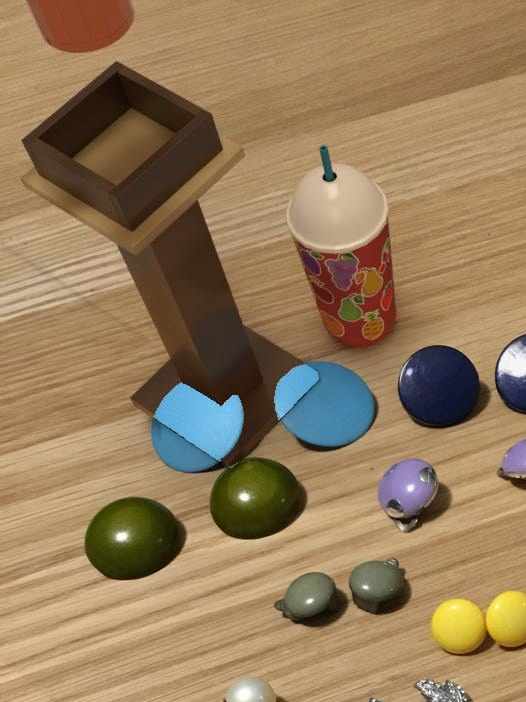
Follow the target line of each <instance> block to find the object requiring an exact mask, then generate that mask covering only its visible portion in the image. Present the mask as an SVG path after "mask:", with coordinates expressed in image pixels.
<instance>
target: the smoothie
mask: <svg viewBox="0 0 526 702" xmlns="http://www.w3.org/2000/svg"><path fill="white" fill-rule="evenodd" d="M318 151H319V155H320V159H321V164H320V165H318V166H315V167H313V168H312V169H310V170H309V171H308V172H307V173H306V174H304V175H303V177H302V178H301V179H300V180H299V182H298V183H297V184H296V186H295V188H294V191H293V194H292V196H291V198H290V199H289V201H288V203H287V207H286V211H285V219H286V226H287V229H288V230H289V231H290V235H291V238H292V240H293V243H294V245H295V248H296V251H297V253H298V257H299V260H300V262H301V265H302V268H303V271H304V273H305V276H306V279H307V282H308V284H309V287H310V290H311V293H312V297H313V299H314V302H315V304H316V307H317V309H318V313H319V315H320V318H321V321H322V323H323V324H322V325H323V326H324V327H325V329H326V331H327V332H328V334H330V335H331V336H333V337H334V338H335V339H336V340H338V341H339V342H341V343H342V344H344V345H346V346H349V347H354V348H355V347H358V348H362V347H363V348H364V347H368V346H372V345H374V344H376V343H379V342H380V341H381V340H383V338H385V337H386V336H387V335H388V333H389V331H390V329H391V327H392V325H393V324H394V322H395V321H396V315H397V304H396V303H397V302H396V291H395V288H396V287H395V278H394V265H393V255H392V243H391V241H392V240H391V231H390V230H391V229H390V227H391V226H390V218H389V211H390V210H389V202H388V197H387V196H386V194H385V193H384V190H383V189H382V187H381V186H380V185H378V184H377V183H376V182H374V181H373V179H371V178H370V177H369V176H368V174H366V173H364V172H363V171H362V170H360V169H359V168H357V167H356V166H353V165H349V164H347V163H343V162H331V157H330V152H329V147H328V146H327V145H325V144H321V145H320V146H319V150H318Z"/></svg>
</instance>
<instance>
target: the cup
mask: <svg viewBox="0 0 526 702" xmlns="http://www.w3.org/2000/svg"><path fill="white" fill-rule="evenodd" d="M24 2H25V3H26V4H25V5H26V6H27V9H28V10H29V12H30V15H31V17H32V19H33V21H34V24H35V26H36V27H37V29H38V31H39V34H40V36H41V37H42V39H43V40H44V41H45V42H46V43H47V44H48V45H49V46H51V47H52V48H54V49H55V50H58V51H60V52H65V53H69V54H70V53H71V54H83V53H85V54H86V53H90V52H91V53H92V52H95V51H99V50H101V49H105V48H107V47H109V46H111V45H113V44H114V43H116V42H117V41H119V40H120V39H122V38H123V37H124V36H125V35H126V34H127V33H128V32H129V30H130V28H131V27H132V25H133V23H134V19H135V7H134V4H133V0H24Z"/></svg>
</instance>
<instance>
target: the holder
mask: <svg viewBox="0 0 526 702" xmlns="http://www.w3.org/2000/svg"><path fill="white" fill-rule="evenodd" d="M20 141H21V143H22V145H23V147H24V149H25V151H26V153H27V155H28V156H29V158H30V161H31V163H32V164H33V167H32V168H30V169H29V170H28V171H26V173H24V174H23V175H22V176H21V177H20V178H19V180H20V182H21V183H22V185H23V187H24V188H26V189H27V190H29V191H30V192H32V193H34V194H35V195H37V196H38V197H40V198H42V199H43V200H45V201H46V202H48V203H50V204H51V205H53V206H54V207H56V208H58V209H59V210H61V211H63V212H64V213H65V214H67V215H69V216H70V217H73V218H74V219H75V220H78V221H79V222H80V223H82V224H84V225H85V226H87V227H89V228H90V229H92V230H93V231H95V232H97V233H98V234H100V235H101V236H103V237H105V238H106V239H108V240H110V241H112V242H113V243H114V244H116V246H117V249H118V251H119V253H120V256H121V257H122V259H123V262H124V264H125V265H126V267H127V270H128V272H129V274H130V276H131V278H132V281H133V282H134V285H135V287H136V289H137V291H138V293H139V295H140V297H141V299H142V301H143V304H144V306H145V308H146V310H147V312H148V315H149V316H150V319H151V320H152V322H153V325H154V326H155V329H156V331H157V334H158V336H159V337H160V338H159V339H161V342H162V344H163V346H164V348H165V350H166V352H167V354H168V356H169V359H168V360H167V361H166V362H165V363H164V364H163V365H162V366H161V367H160V368H159V369H157V371H156V372H155V373H154V374H152V376H150V377H149V379H148V380H147V381H145V382H144V384H142V385H141V387H139V388H138V389H137V390H136V391H135V392H134V393H133V394H132V395H131V396H130V397H129V398H130V400H131V403H132V404H133V406H134V407H135V408H137V409H139V410H140V411H142V412H143V413H145V414H146V415H148V416H149V417H150V418H152V419H154V418H153V416H154V415H155V412H156V410H157V408H158V407H159V405H160V403H161V401H162V400H163V398H164V397H165V396H166V395H167V394H168V393H169V392H170V391H171V390H172V389H173V388H174V387H175V386H176V385H178V384H179V383H181V382H182V383H183V384H186V385H188V386H190V387H191V388H193V389H195V390H196V391H198V392H200V393H202V394H203V395H205V396H207V397H208V398H210V399H211V400H213V401H215V402H216V403H217V404H219V405H220V406H222V405H223V404H224V402H226V400H228V399H229V398H230V397H231V396H232V395H238V396H239V398H240V400H241V403H242V406H243V411H244V424H243V428H242V433H241V435H240V438H239V440H238V442H237V444H236V445H235V446H234V448H233V450H232V451H231V452H230V453H229V454H228V455H226V456H225V457H224V458H221V460H222V464H223V465H222V464H221V465H222V466H223V467H224V468H226V469H228V467H230V466H232V465H234V464H236V463H237V462H239V461H241V460H242V461H243V460H244V459H245V458H246V457H247V456H248V454H250V452H252V450H253V449H254V448H255V447H256V446H257V445H258V444H259V443H260V442H261V441H262V440H263V439H264V438H265V437H266V436H267V435H268V434H269V433H270V432H271V431H272V430H273V429H274V428H275V426H276V425H278V424H279V423H280V421H279V420H278V417H277V413H276V411H275V403H274V396H275V390H276V386H277V383H278V382H279V380H280V379H281V378H282V377H283V376H285V374H287V373H288V372H289V371H290V370H291V369H292V368H294V367H296V366H299V365H303V364H307V363H306V362H305V361H303V360H301V359H300V358H298V357H296V356H295V355H293V354H291V352H288V351H287V350H285V349H284V348H282V347H280V346H279V345H277V344H276V343H274V342H272V341H270V340H269V339H267V338H265V337H264V336H262V334H260V333H258V332H256V331H254V330H253V329H251V328H249V327H248V326H246V325H245V324H244V323H243V320H242V317H241V315H240V312H239V309H238V306H237V303H236V300H235V297H234V296H233V293H232V289H231V287H230V284H229V281H228V279H227V275H226V273H225V271H224V270H225V269H224V268H223V264H222V262H221V260H220V256H219V254H218V251H217V248H216V245H215V242H214V240H213V237H212V234H211V231H210V229H209V226H208V224H207V221H206V218H205V215H204V212H203V210H202V206H201V204H200V202H199V199H200V198H202V196H204V195H205V194H206V193H207V192H208V191H209V190H210V189H211V188H212V187H214V185H215V184H217V183H218V182H220V181H221V179H222V178H223V177H224V176H226V175H227V174H228V173H229V172H230V171H231V170H232V169H233V168H234V167H235V166H236V165H238V164H239V163H240V162H241V161H242V160H243V159H244V158H245V157H246V153H245V150H244V147H243V146H241V145H240V144H238V143H236V142H235V141H233V140H231V139H229V138H228V137H226V136H224V135H222V134H220V133H219V132H218V129H217V125H216V122H215V118H214V116H213V114H212V113H211V112H210V111H208V110H206V109H204V108H203V107H201V106H199V105H198V104H195V103H193V102H192V101H190V100H188V99H187V98H186V97H183V96H181V95H180V94H178V93H176V92H174V91H172V90H170V89H168V88H166V87H165V86H163V85H161V84H160V83H157V82H156V81H154V80H152V79H151V78H148V77H147V76H145V75H144V74H142V73H140V72H137V71H136V70H134V69H133V68H130V67H128V66H126V65H125V64H123V63H122V62H120V61H118V60H115V61H114V62H113V63H112V64H110V66H108V67H107V68H106V69H104V70H103V71H102V72H101V73H100V74H99V75H97V76H96V77H95V78H94V79H92V81H90V82H89V83H87V84H86V85H85V86H84V87H83V88H82V89H80V90H79V91H78V92H77V93H76V94H74V95H73V96H72V97H71V98H69V99H68V100H67V101H66V102H65V103H64V104H63V105H61V106H60V107H58V109H56V110H55V111H54V112H53V113H52V114H50V115H49V116H48V117H47V118H46V119H45V120H43V121H42V122H41V123H40V124H39V125H37V126H36V127H35V128H33V130H31V131H30V132H29V133H28V134H27V135H25V136H24V137H23V138H22V139H21V140H20ZM264 436H265V437H264ZM262 438H263V439H262ZM260 440H261V441H260ZM242 461H241V462H242Z"/></svg>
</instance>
